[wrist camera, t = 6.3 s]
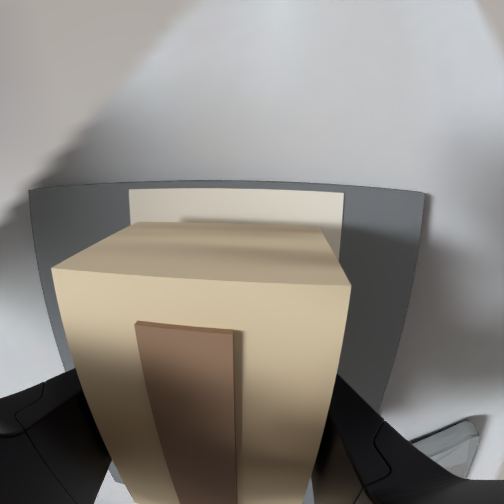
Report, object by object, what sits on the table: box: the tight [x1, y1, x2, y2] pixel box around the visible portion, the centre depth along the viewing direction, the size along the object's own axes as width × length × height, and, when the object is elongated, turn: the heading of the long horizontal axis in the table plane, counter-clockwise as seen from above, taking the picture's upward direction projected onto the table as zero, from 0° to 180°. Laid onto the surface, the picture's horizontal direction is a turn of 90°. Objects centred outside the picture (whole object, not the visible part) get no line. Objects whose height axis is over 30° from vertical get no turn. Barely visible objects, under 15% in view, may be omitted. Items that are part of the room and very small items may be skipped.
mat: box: [29, 180, 425, 504], centre depth 12 cm, size 18×14×1 cm
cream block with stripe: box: [51, 222, 351, 504], centre depth 8 cm, size 8×5×4 cm, turn 179°
